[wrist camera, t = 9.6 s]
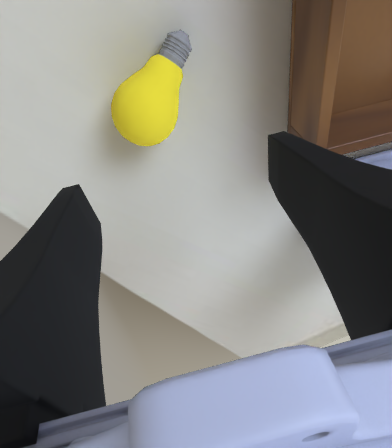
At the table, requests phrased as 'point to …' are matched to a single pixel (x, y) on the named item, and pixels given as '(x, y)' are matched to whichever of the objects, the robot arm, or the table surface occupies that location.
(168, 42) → the light bulb
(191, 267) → the table surface
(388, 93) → the tray
